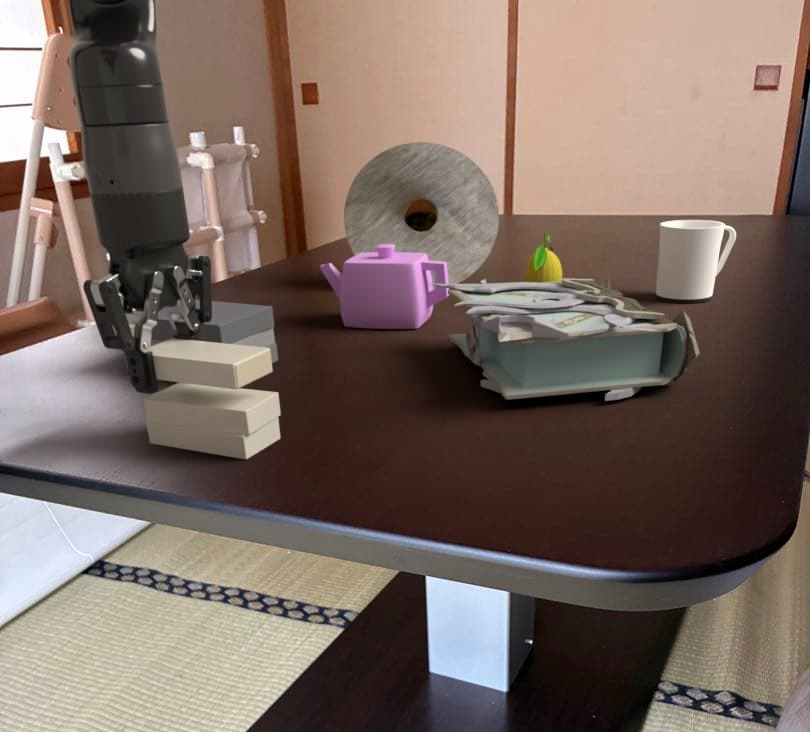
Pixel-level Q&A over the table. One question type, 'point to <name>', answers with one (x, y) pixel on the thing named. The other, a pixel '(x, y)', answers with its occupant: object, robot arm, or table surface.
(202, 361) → the cream rectangular block
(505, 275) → the table surface
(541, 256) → the lemon
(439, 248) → the disc
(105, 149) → the robot arm
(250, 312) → the grey stack
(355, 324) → the teapot
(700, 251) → the mug
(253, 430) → the cream lidded box
